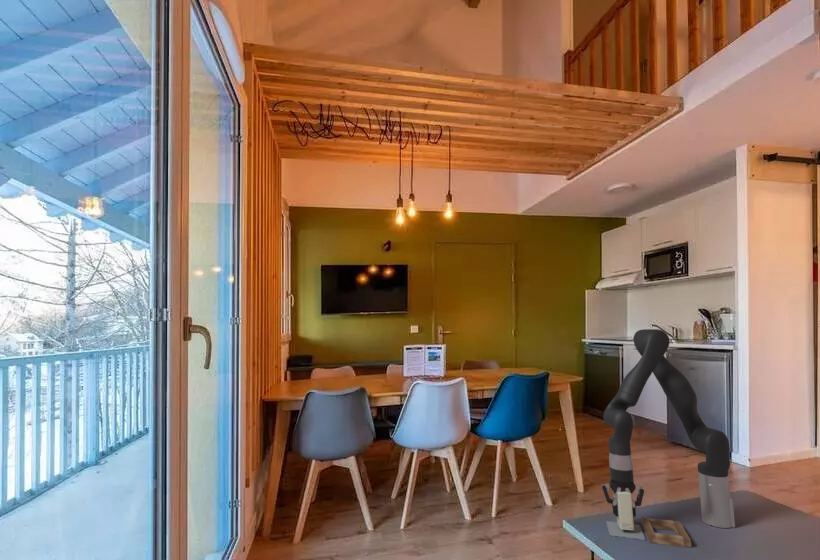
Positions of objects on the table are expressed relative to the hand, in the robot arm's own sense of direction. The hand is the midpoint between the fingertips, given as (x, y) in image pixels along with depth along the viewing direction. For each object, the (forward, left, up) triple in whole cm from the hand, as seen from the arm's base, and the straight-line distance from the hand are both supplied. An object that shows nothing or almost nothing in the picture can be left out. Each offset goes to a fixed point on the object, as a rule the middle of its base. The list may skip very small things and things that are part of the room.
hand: (624, 516), depth 155 cm
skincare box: (0, 0, -4) cm, 4 cm away
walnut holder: (-12, 0, -5) cm, 13 cm away
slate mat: (0, 0, -5) cm, 5 cm away
